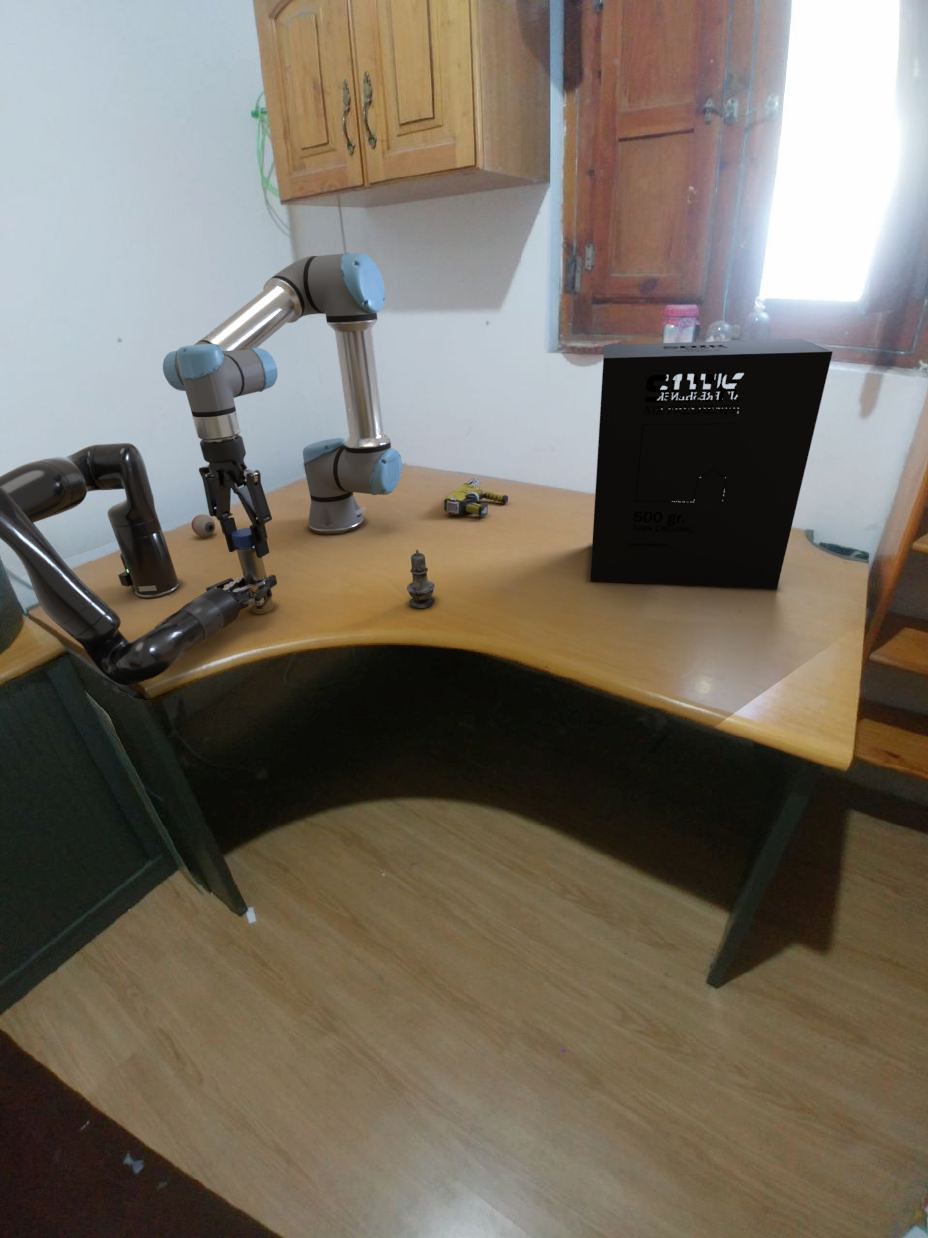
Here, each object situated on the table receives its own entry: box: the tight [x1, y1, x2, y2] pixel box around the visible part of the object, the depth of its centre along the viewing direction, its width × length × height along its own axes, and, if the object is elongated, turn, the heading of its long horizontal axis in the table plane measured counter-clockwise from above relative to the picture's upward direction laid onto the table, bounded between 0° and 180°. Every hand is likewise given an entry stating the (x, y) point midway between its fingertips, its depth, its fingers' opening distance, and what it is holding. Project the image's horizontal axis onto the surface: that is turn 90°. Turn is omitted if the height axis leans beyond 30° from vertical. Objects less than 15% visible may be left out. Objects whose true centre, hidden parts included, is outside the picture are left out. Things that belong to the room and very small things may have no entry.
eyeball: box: [191, 514, 216, 538], centre depth 166 cm, size 6×6×6 cm
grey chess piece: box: [406, 549, 436, 609], centre depth 124 cm, size 6×6×12 cm
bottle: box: [236, 546, 275, 615], centre depth 124 cm, size 4×4×17 cm
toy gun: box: [443, 478, 509, 519], centre depth 176 cm, size 5×24×15 cm
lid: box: [232, 527, 254, 548], centre depth 120 cm, size 5×5×2 cm
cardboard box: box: [589, 338, 834, 590], centre depth 125 cm, size 38×20×45 cm, turn 78°
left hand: (265, 577), depth 127 cm, fingers closed on bottle, 4 cm apart
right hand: (249, 552), depth 122 cm, fingers open, 7 cm apart
